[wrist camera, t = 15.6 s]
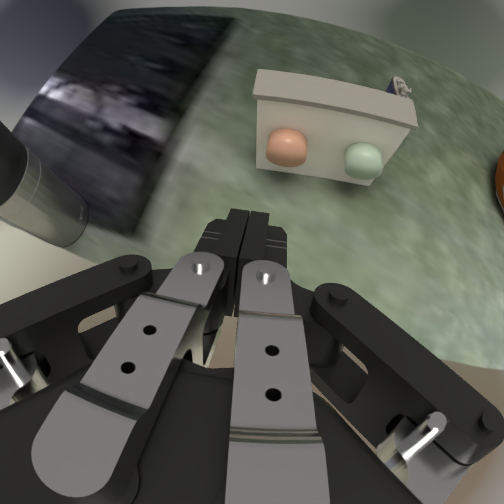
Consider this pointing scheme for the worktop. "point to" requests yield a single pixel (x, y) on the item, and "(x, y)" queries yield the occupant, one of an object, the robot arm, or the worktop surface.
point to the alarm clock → (500, 180)
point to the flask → (398, 88)
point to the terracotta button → (286, 148)
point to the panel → (328, 120)
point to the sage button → (363, 161)
